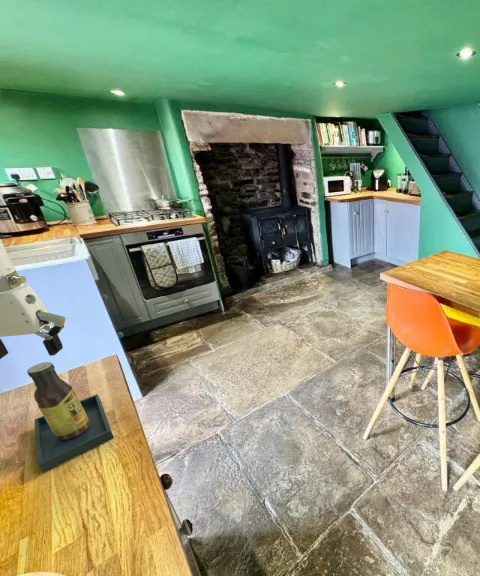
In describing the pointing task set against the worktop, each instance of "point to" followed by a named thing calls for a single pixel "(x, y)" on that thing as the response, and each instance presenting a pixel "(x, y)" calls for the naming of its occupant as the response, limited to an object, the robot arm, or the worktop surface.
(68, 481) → the worktop surface
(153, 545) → the worktop surface
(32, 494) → the worktop surface
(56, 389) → the sauce bottle
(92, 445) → the tray
